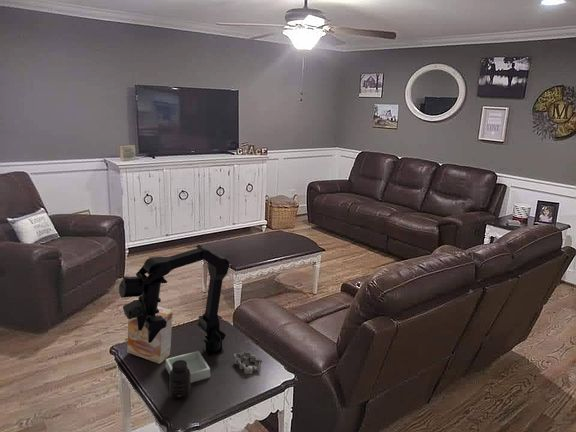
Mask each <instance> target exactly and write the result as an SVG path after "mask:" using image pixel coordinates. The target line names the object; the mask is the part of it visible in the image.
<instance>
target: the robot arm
mask: <svg viewBox="0 0 576 432" xmlns="http://www.w3.org/2000/svg"><path fill="white" fill-rule="evenodd" d="M200 261H205V262H207V271H208V275H209V283H208V284H209V285H208V289H207V297H206V304H205V311H204V313H203V314H202V315H199V316H198V322H197V327H198V329H199V331H201V332H202V334H204V335H205V336H204V340H203V347H202V349H203V351H204V353H206V354H207V356H209V357H210V356H214V355H218V354H221V353H224V350H225V349H223V340H225V338H226V333H224V332H223V331H222V330H221V323H220V319H219V309H220V308H219V307H220V300H221V293H222V288H223V287H222V286H223V280H224V279H225V277H226V276H227V275H228V271H229V269H230V261H229V260H228V259H227V258H225V257H223V256H222V255H220V254H218V253H212V252H211V251H210V249H207V248H206V247H204V246H198V247H195V248H194V249H190V250H187V251H184V252H183V251H182V252H181V253H176V254H174V255H170V256H154V257H149V258H147V259H146V260H145V262H144V263H143V265H142V266H141V268H140V269H139V270H138V271H137V272H136V273H135V276H123V277H122V280H121V281H120V283H119V286H118V291H119V296H120V298H122V299H124V298H126V299H127V298H134V297H136V298H137V297H138V298H137V299H134V300H132V301H131V302H130V303H127V304H124V305H123V306H122V309H123V310H122V311H123V314H124V316H125V317H126V319H127V320H128V319H132V318H136V319H137V325H138V330H139V331H141V330H142V328H143V326H144V324H145V327H146V328H147V329H148V343H151V342H152V341H153V340H154V338H155V337H156V335H157V334H158V333H159V331H160V330H161V329H163V328H166V325H167V321H166V320H165V319H164V318H163V317H162V316H156V315H155V314H156V313H159V310H158V309H157V307H158V306H159V303H161V302H162V301H161V300H162V299H161V298H160V291H161V285H162V284H167V283H168V280H167V279H165V277H164V276H166V275H168V274H170V273H171V271H173V270H175V269H179V268H181V267H185V266H188V265H191V264H194V263H197V262H200ZM146 274H147V275H148V276H147V275H146ZM147 317H148V318H147Z"/></svg>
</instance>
